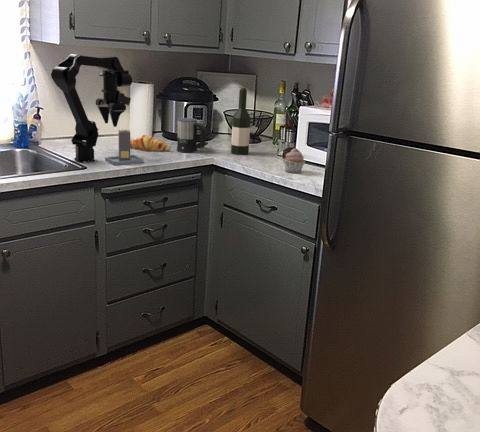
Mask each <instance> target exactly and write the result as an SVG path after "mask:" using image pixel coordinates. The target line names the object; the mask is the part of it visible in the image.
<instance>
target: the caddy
mask: <svg viewBox="0 0 480 432" xmlns="http://www.w3.org/2000/svg"><path fill="white" fill-rule="evenodd" d="M117 136H118V156H119V161H126V160H130V155H131V147H130V140H131V130H130V129H129V130H127V129H121V130H120V129H119V130H118V135H117Z"/></svg>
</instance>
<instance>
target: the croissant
mask: <svg viewBox="0 0 480 432" xmlns="http://www.w3.org/2000/svg"><path fill="white" fill-rule="evenodd" d="M130 148H131V149H134V150H137V151H143V152H162V151H165V152H168V151H170V150H171V148H172V146H171V145H169V144H168V143H167V142H163V141H162V140H161V139H160V138H153V136H152V135H151V136H150V135H146V134H143V135H142V136H141V137H137V138H136V139H130Z"/></svg>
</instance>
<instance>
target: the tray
mask: <svg viewBox="0 0 480 432" xmlns="http://www.w3.org/2000/svg"><path fill="white" fill-rule="evenodd" d="M104 161H105V162H107V163H109V164H111V165H112V166H123V165H136V164H144V163H145V159H144V158H141V157H139V156H137V155H136V154H130V160H126V161H119V155H118V156H105V159H104Z"/></svg>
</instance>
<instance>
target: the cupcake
mask: <svg viewBox="0 0 480 432" xmlns="http://www.w3.org/2000/svg"><path fill="white" fill-rule="evenodd" d="M304 159H305V158H304V156H303V154H302V152H301V151H300V150H299V149H298V148H296V147H295V148H293V149H291V150H290V152H287V153H286V155H285V158H283V159H282V162H283V164H284V168H285V172H286V173H289V174H300V173H301V172H302V169H303V166H304V165H305V162H306V160H304Z"/></svg>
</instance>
